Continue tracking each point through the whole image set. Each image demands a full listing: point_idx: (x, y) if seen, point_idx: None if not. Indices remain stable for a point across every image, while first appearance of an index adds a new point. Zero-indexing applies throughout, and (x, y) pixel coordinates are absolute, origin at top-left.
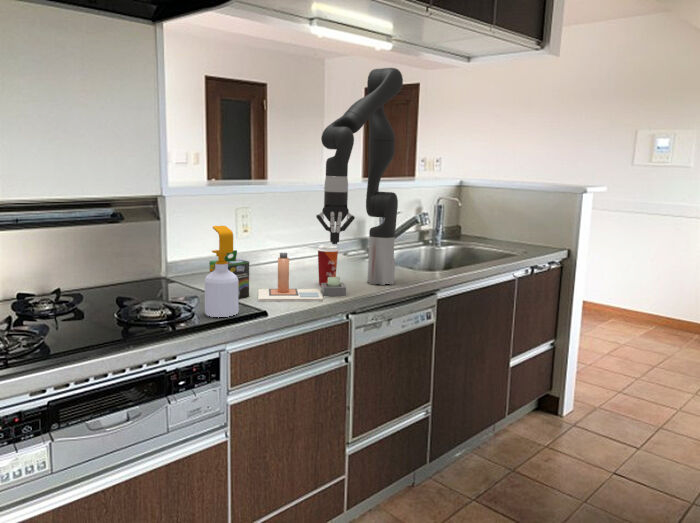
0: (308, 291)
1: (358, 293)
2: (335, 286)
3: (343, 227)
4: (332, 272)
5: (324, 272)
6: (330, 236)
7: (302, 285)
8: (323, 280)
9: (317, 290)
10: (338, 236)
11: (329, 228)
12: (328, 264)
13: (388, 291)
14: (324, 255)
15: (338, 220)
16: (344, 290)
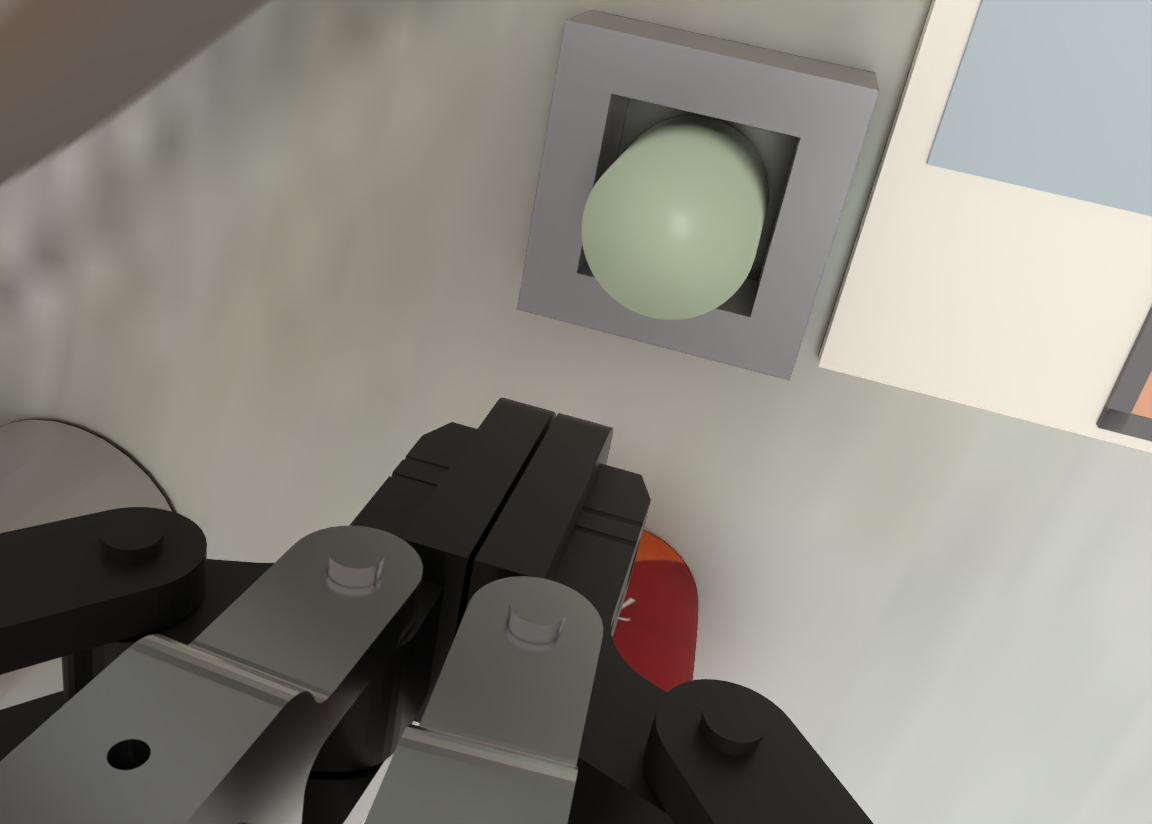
0: (1002, 276)
1: (397, 146)
2: (687, 124)
3: (95, 586)
4: None
5: (646, 633)
6: (618, 605)
7: (875, 667)
8: (668, 584)
9: (863, 302)
10: (399, 500)
11: (628, 753)
12: None
13: (58, 161)
14: None
15: (120, 821)
16: (598, 20)
